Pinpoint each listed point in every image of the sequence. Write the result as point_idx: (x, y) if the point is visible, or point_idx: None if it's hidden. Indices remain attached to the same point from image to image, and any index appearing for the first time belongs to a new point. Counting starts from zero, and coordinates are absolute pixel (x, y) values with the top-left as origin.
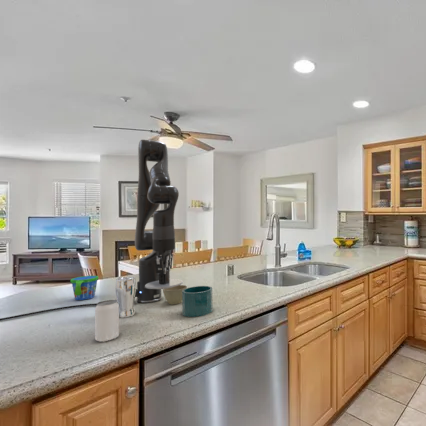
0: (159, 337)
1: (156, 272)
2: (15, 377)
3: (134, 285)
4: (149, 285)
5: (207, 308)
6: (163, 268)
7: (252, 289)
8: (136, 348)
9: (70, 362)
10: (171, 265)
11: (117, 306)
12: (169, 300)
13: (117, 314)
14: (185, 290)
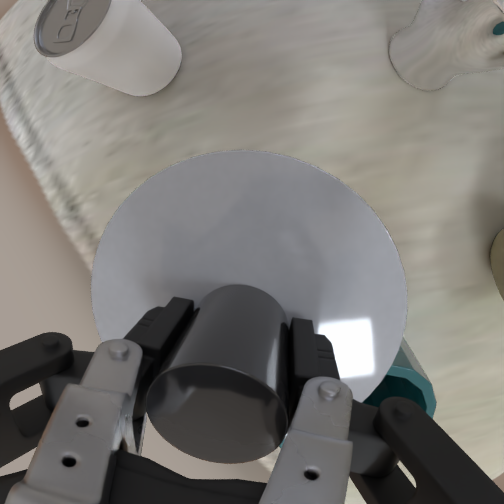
0: None
1: (37, 339)
2: (20, 6)
3: (492, 50)
4: (173, 203)
5: None
6: (38, 431)
7: None
8: (47, 196)
9: (30, 62)
10: (382, 486)
11: (69, 68)
12: (500, 236)
13: (89, 78)
14: (394, 373)
